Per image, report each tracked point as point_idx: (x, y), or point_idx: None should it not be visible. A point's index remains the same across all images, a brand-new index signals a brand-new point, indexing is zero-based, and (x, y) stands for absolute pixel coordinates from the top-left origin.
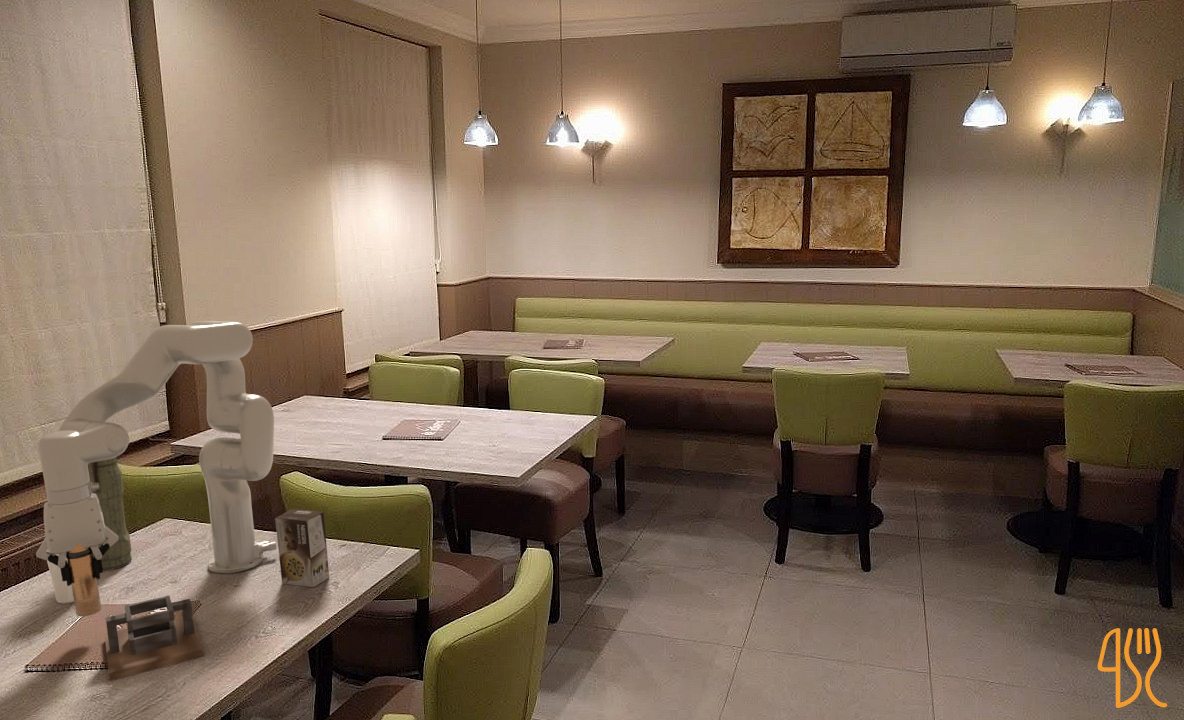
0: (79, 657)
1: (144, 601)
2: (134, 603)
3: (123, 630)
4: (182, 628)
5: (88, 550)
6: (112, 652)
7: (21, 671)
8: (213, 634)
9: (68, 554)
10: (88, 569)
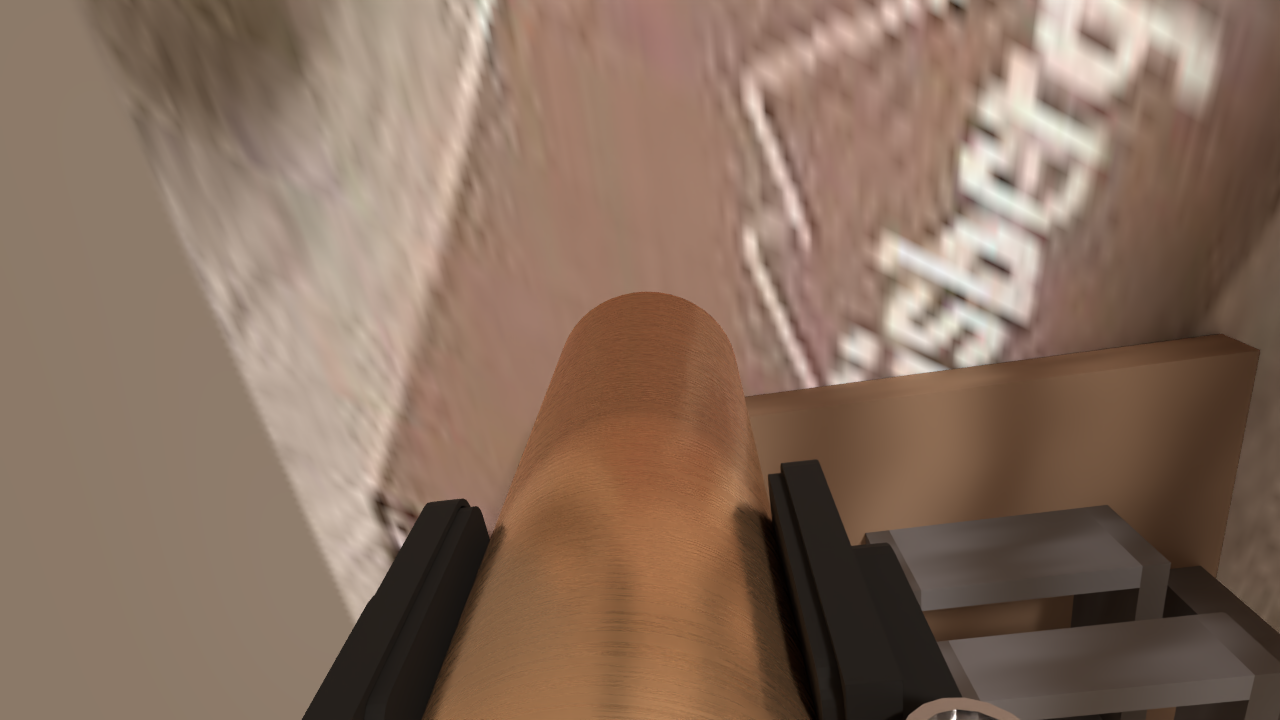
0: None
1: (1093, 696)
2: (1020, 700)
3: (839, 419)
4: (1151, 535)
5: None
6: None
7: (374, 554)
8: (1261, 559)
9: None
10: None
